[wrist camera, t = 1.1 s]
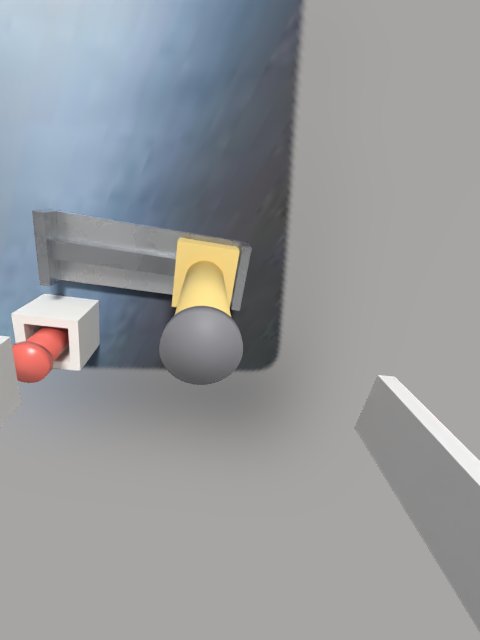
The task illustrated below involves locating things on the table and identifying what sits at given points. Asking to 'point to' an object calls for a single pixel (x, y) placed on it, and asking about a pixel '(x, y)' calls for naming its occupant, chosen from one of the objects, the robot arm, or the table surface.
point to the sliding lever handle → (202, 314)
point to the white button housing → (62, 326)
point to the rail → (117, 253)
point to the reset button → (39, 353)
